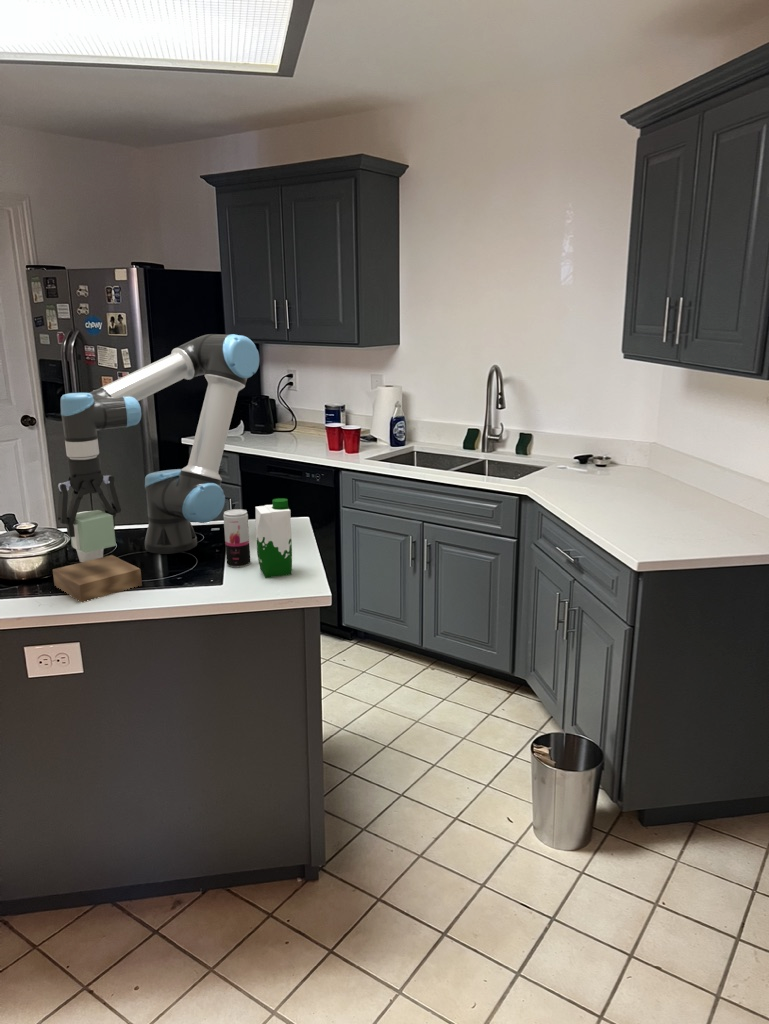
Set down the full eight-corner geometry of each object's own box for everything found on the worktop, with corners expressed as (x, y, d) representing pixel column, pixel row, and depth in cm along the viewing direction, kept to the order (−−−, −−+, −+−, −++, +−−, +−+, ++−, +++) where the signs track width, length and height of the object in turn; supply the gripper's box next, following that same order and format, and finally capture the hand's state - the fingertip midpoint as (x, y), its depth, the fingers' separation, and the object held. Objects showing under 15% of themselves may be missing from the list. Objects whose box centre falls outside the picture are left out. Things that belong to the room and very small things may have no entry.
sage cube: (101, 539, 197) (98, 509, 194) (115, 545, 191) (112, 515, 189) (71, 546, 191) (67, 515, 189) (85, 552, 186) (81, 521, 184)
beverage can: (239, 569, 205) (236, 516, 201) (221, 565, 209) (218, 513, 205) (255, 562, 211) (252, 510, 207) (237, 558, 214) (234, 507, 210)
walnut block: (113, 572, 205) (111, 555, 204) (142, 587, 194) (140, 568, 193) (54, 587, 194) (52, 569, 193) (81, 604, 183) (79, 585, 182)
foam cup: (71, 566, 209) (66, 521, 206) (75, 555, 218) (69, 512, 214) (107, 562, 212) (102, 518, 208) (109, 552, 220) (105, 509, 217)
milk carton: (295, 575, 200) (292, 502, 195) (262, 579, 197) (258, 506, 192) (288, 565, 208) (285, 495, 203) (255, 569, 205) (251, 498, 200)
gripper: (116, 449, 195) (125, 532, 201) (34, 460, 181) (46, 550, 187) (130, 452, 190) (138, 538, 196) (46, 465, 175) (58, 557, 181)
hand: (93, 544), depth 191 cm, fingers closed on sage cube, 8 cm apart
